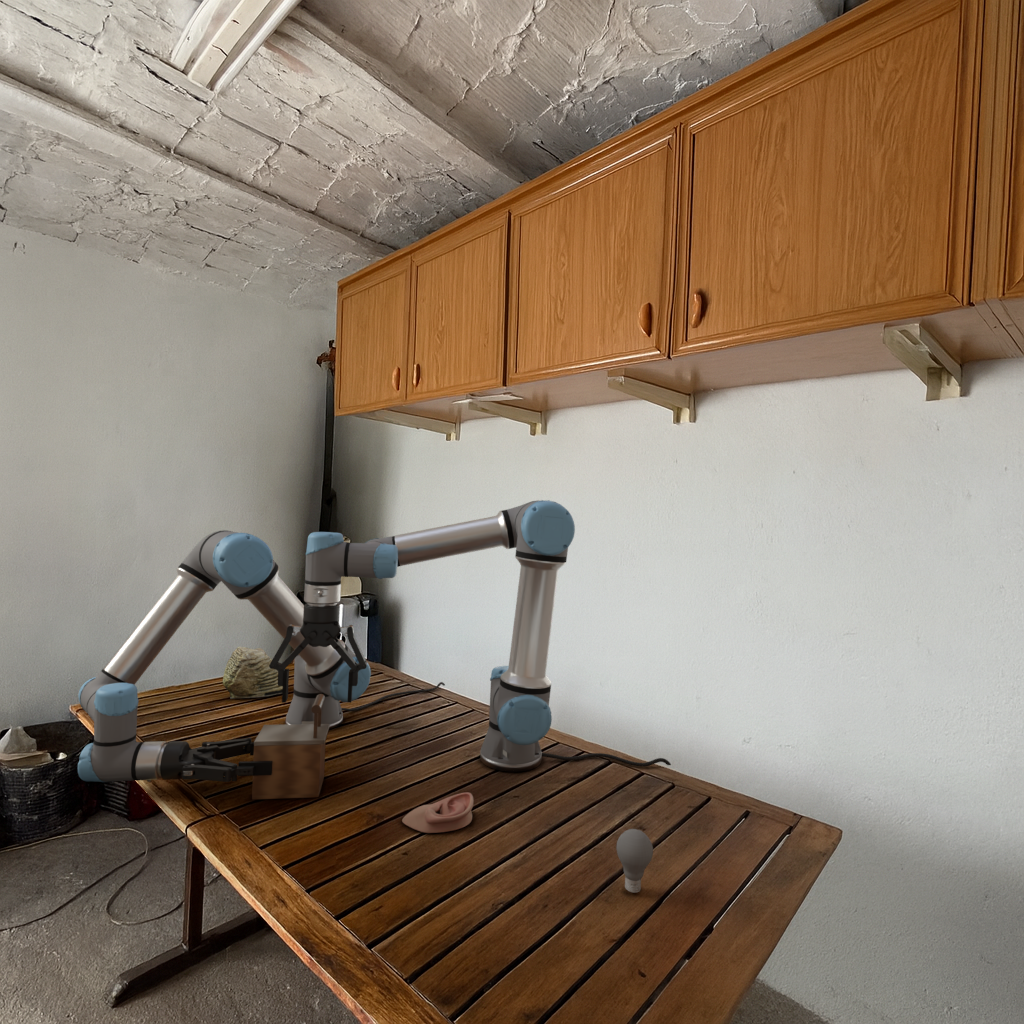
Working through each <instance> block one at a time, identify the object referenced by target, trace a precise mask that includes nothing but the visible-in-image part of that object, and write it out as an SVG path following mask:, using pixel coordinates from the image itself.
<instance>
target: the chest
mask: <svg viewBox="0 0 1024 1024" xmlns="http://www.w3.org/2000/svg"><path fill="white" fill-rule="evenodd" d="M326 740H327V739H326ZM326 740H325V744H307V745H259V746H254V756H253V760H252V761H272V775H260V776H252V786H251V787H252V788H251V800H252V801H253V800H275V799H277V800H278V799H304V798H306V799H307V798H319V797H320V794H321V790H322V787H323V786H322V785H323V782H324V779H325V765H326V764H325V763H326V762H325V761H326V742H327V741H326Z"/></svg>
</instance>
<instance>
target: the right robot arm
mask: <svg viewBox="0 0 1024 1024" xmlns="http://www.w3.org/2000/svg"><path fill="white" fill-rule="evenodd" d="M575 533H576V526H575V520H574V518H573V516H572V514H571V513H570V511H569V510H568V509H567V508H566V507H565V506H563V505H562V504H560V503H558V502H556V501H554V500H550V499H549V500H547V499H546V500H543V499H541V500H532V501H529V502H525V503H523V504H521V505H518V506H514V507H512V508H508V509H502V510H499V511H498V513H497V514H496V515H494V516H489V517H488V516H487V517H483V518H478V519H472V520H467V521H463V522H462V521H461V522H458V523H453V524H452V523H451V524H447V525H441V526H437V527H432V528H426V529H422V530H417V531H411V532H407V533H401V534H396V535H391V536H386V537H381V538H379V537H376V538H375V537H374V538H370V539H369V540H367V541H365V542H348V541H345V539H344V535H343V534H342V533H341V532H333V531H313V532H311V533H309V535H308V537H307V543H306V552H305V571H304V572H305V573H304V577H305V578H304V592H303V594H304V595H303V601H304V602H305V604H303V605H304V613H303V625H302V626H295V625H294V624H290V625H289V626H288V628H287V633H286V637H285V639H284V638H283V641H282V642H281V643H280V646H279V648H278V649H277V651H276V653H275V654H274V656H273V657H272V661H271V663H270V665H269V667H270V668H271V669H276V670H277V671H278V686H283V689H282V693H281V703H282V704H283V703H284V704H285V703H286V702H287V701H288V699H289V680H290V669H289V668H287V667H288V666H290V664H291V663H292V662H293V661H295V658H296V656H297V655H298V654H299V653H300V652H301V651H302V650H303V649H304V648H305V647H306V646H307V645H308V644H309V645H310V646H312V647H318V646H321V647H327V646H330V645H331V646H332V647H333V648H334V649H335V650H336V651H337V652H338V654H339V655H340V656H341V657H342V658H343V660H344V661H345V662H346V663H347V665H348V666H349V667H350V668H351V669H350V670H349V680H348V701H347V702H346V703H352V701H351V700H352V686H357V684H358V672H359V670H361V669H365V668H366V667H367V663H368V661H367V659H366V657H365V655H364V653H363V651H362V649H361V647H360V644H359V642H358V640H357V638H356V636H355V628H354V625H353V624H349V625H348V626H347V625H346V626H341V625H340V612H341V610H340V609H341V606H340V604H339V603H340V602H341V591H342V577H344V578H365V579H366V578H368V579H378V580H382V579H394V578H395V577H396V576H397V574H398V567H403V566H408V565H412V564H413V565H414V564H419V563H424V562H429V561H434V560H439V559H445V558H448V557H454V556H459V555H464V554H470V553H474V552H479V551H484V550H489V549H495V548H499V547H500V548H501V547H503V548H504V549H505V550H510V549H515V555H514V558H515V559H516V560H517V562H518V563H519V564H520V569H519V576H518V578H519V579H518V585H517V586H518V587H517V594H516V601H515V609H514V610H515V611H514V618H513V628H512V635H511V643H510V652H509V658H508V659H509V661H508V665H499V666H495V667H494V668H492V670H491V672H490V673H491V674H490V678H489V681H490V689H489V690H490V693H489V712H488V713H489V714H488V717H489V718H488V728H487V731H486V733H485V736H484V740H483V742H482V745H481V747H480V751H479V752H480V753H479V760H480V761H481V763H482V764H483V765H484V766H486V767H488V768H490V769H493V770H496V771H501V772H510V773H518V772H526V771H531V770H533V769H535V768H537V767H539V766H540V765H541V763H542V759H543V758H542V757H544V758H549V759H554V760H555V759H556V760H560V761H571V762H572V761H578V760H579V761H581V760H584V759H589V758H606V759H610V760H614V761H617V762H620V763H623V764H626V765H629V766H634V767H641V768H643V767H644V768H645V767H650V766H652V765H655V764H657V763H664V764H665V765H667V766H671V765H672V764H671V762H670V761H669V760H668V759H666V758H663V757H658V758H654V759H652V760H649V761H646V762H636V761H633V760H628V759H625V758H623V757H620V756H616V755H613V754H609V753H601V752H591V753H586V754H582V755H576V756H563V755H557V754H552V753H547V752H542V748H541V745H540V741H541V740H543V738H545V736H547V734H548V732H549V731H550V728H551V726H552V719H553V718H552V710H551V707H550V698H551V690H552V681H551V679H550V677H548V676H547V667H548V658H549V651H550V644H551V643H550V642H551V634H552V625H553V617H554V610H555V602H556V593H557V586H558V578H559V577H558V576H559V571H560V569H561V568H563V567H564V566H565V565H566V564H567V559H568V553H569V552H568V551H569V547H570V546H571V545H572V542H573V540H574V538H575ZM298 632H301V634H302V635H303V637H304V638H305V639H304V640H303V641H302V642H301V643H300V644H299V645H298V646H297V648H296V649H295V650H294V649H293V651H291V653H290V654H289V655H288V656H287V657H286V658H285V659H284V660H283V661H282V662H280V660H281V659H282V656H283V655H284V653H285V651H286V649H287V648H288V646H289V642H290V641H291V639H292V637H293V636H295V635H296V634H297V633H298ZM341 633H342V635H344V637H347V640H348V642H349V645H350V647H351V649H352V652H353V653H354V654H355V655H356V658H357V660H358V662H359V663H358V664H357V663H356V661H355V660H354V659H353V658H352V657H351V655H350V654H349V653H348V652H347V651H346V649H345V648H344V647H343V646H342V644H341V643H340V641H339V640H338V639H339V638H338V637H339V635H340V634H341Z"/></svg>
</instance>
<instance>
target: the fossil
mask: <svg viewBox="0 0 1024 1024" xmlns="http://www.w3.org/2000/svg"><path fill="white" fill-rule="evenodd" d="M272 660H273V658H271V657H270V656H269V655H268V654H267V653H266V652H265V650H264V649H263V648H260V647H258V648H251V647H247V646H246V647H245V646H238V647H237V648H236V649H235V650H233V651H232V653H231V656H230V657H229V659H228V660H227V663H226V666H225V668H224V671H223V675H222V676H223V677H222V685H223V687H224V688H225V690H226V691H228V693H229V698H230V699H250V698H264V697H271V696H275V695H281V694H282V689H283V686H278V671H277V670H276V669H271V668H270V667H269V665H270V663H271V661H272Z"/></svg>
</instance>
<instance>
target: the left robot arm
mask: <svg viewBox="0 0 1024 1024" xmlns="http://www.w3.org/2000/svg"><path fill="white" fill-rule="evenodd" d="M176 571H177V572H176V573H177V574H176V577H175V578H174V579H173V580H172V582H171V583H170V584H169V586H168V587H167V588H165V590H164V591H163V593H162V594H161V595H160V596H159V598H158V599H157V601H155V603H154V604H153V605H152V607H151V608H150V609H149V610H148V612H147V613H146V615H144V616H143V618H142V619H141V621H140V622H139V623H138V624H137V625H136V627H134V629H133V630H132V632H131V633H130V634H129V636H128V637H127V638H126V639H125V641H124V642H123V643H122V644H121V645H120V647H119V648H118V649H117V651H116V652H115V653H114V655H113V656H111V658H110V660H109V661H107V663H106V664H105V666H104V667H103V668H102V669H101V670H100V671H99V672H98V674H97V675H96V676H93V677H91V678H89V679H88V680H86V681H85V682H84V683H83V684H82V685H81V686H80V688H79V691H78V695H77V697H78V702H79V704H80V705H79V706H80V707H81V708H82V710H83V711H84V712H85V713H86V714H88V717H89V718H90V719H91V720H92V721H93V742H91V743H88V744H86V745H85V746H84V748H83V749H81V752H80V755H79V757H78V759H79V761H78V763H77V773H78V777H79V778H80V780H81V781H84V782H92V783H93V782H97V783H111V782H129V781H130V782H132V781H146V782H147V783H151V782H152V781H158V780H159V781H160V780H161V779H163V780H164V781H171V780H172V781H173V780H176V781H177V780H202V781H211V782H223V783H230V782H233V783H234V782H237V781H238V777H253V776H260V775H272V761H253V760H251V761H250V760H249V761H247V760H246V761H244V760H243V761H239V762H238V764H237V763H234V762H230V761H225V759H231V758H234V757H239V756H244V755H248V754H249V757H250V756H251V757H254V741H253V740H252V737H245V738H237V739H227V740H219V741H203V742H201V746H199V747H196V748H191V747H190V743H189V742H188V741H186V740H183V741H182V740H175V741H174V740H172V741H169V742H167V741H166V740H164V741H163V740H162V741H161V740H159V741H137V727H138V707H139V696H138V687H137V685H136V684H137V682H138V681H139V680H140V678H141V677H142V676H143V675H144V673H145V672H146V671H147V669H148V668H149V667H150V665H151V664H152V663H153V662H154V660H155V659H156V658H157V657H158V655H159V654H160V653H161V652H162V650H163V649H164V647H165V646H166V645H167V644H168V642H169V641H170V640H171V639H172V637H173V636H174V634H175V633H176V632H177V631H178V629H180V627H181V625H182V624H183V623H184V622H185V620H186V619H187V618H188V617H189V615H190V614H191V613H192V611H194V609H195V608H196V606H197V605H198V604H199V603H200V601H201V600H202V598H203V597H204V596H205V595H206V593H209V592H213V591H214V590H215V589H216V588H217V586H218V585H219V584H220V583H222V584H223V585H224V586H225V587H226V588H227V589H228V590H229V591H230V592H231V594H233V595H234V596H235V598H237V600H248V601H249V602H250V604H252V606H253V607H254V608H255V609H256V610H257V611H258V612H259V613H260V614H261V615H262V616H263V618H265V620H266V621H267V622H268V623H269V624H270V625H271V627H273V628H274V629H275V631H276V632H277V633H278V634H279V635H280V636H281V637H282V638H283V640H284V639H285V637H286V633H287V628H288V626H289V625H290V624H294V625H295V626H302V625H303V613H304V605H305V604H304V603H302V602H301V600H300V599H299V598H298V597H297V596H296V594H295V593H294V592H293V591H292V590H291V589H290V587H289V586H288V585H287V584H286V583H285V582H284V580H283V579H282V578H281V577H280V576H279V573H280V565H278V564H277V562H276V561H275V559H274V556H273V552H272V550H271V548H270V547H269V545H268V544H267V543H266V542H265V541H264V540H263V539H261V538H260V537H258V536H256V535H254V534H251V533H249V532H237V531H232V530H227V529H226V530H225V529H224V530H217V531H213V532H211V533H208V534H207V535H205V536H204V537H203V538H201V540H200V541H198V542H197V544H196V545H195V546H194V547H193V548H192V549H191V550H190V552H189V553H188V554H187V556H186V557H185V558H184V560H182V561H181V563H180V564H179V565H178V567H177V568H176ZM304 639H305V638H304V637H303V635H302V634H301V632H298V633H297V634H296V635H295V636H293V637H292V639H291V641H290V642H289V644H288V646H290V647H291V648H292V649H293V651H294V650H295V649H296V648H297V646H298V645H299V644H300V643H301V642H302V641H303V640H304ZM337 639H338V640H339V641H340V643H341V644H342V646H343V647H344V648H345V649H346V651H347V652H348V653H349V654H350V655H351V657H352V658H353V659H354V660H355V661H356V663H357V664H358V663H359V662H358V660H357V658H356V655H355V653H354V651H353V650H351V648H350V647H349V646H348V645H347V644H346V643H345V642H344V641H343V640H342V639H339V638H337ZM350 669H351V668H350V667H349V666H348V665H347V663H346V662H345V661H344V660H343V658H342V657H341V656H340V655H339V654H338V652H337V651H336V650H335V649H334V648H333V647H332V646H331V645H330V646H327V647H321V646H318V647H312V646H310V645H309V644H308V645H307V646H306V647H305V648H304V649H303V650H302V651H301V652H300V653H299V654H298V655H297V656H296V658H295V659H294V672H293V695H292V696H293V697H292V699H291V702H290V704H289V708H288V711H287V713H286V715H285V725H289V724H314V713H313V712H312V710H311V709H312V706H313V704H314V701H315V699H316V697H317V695H319V694H323V695H324V696H325V700H324V703H323V705H322V713H321V724H330V726H329V730H332V729H335V728H337V727H339V726H340V725H342V723H343V722H344V714H343V712H356V711H360V710H362V709H366V708H367V707H370V706H372V705H375V704H378V702H381V701H383V700H385V699H387V698H391V697H395V696H400V695H408V694H409V695H410V694H415V693H416V694H417V693H426V692H432V691H435V690H437V689H439V687H440V686H441V685H442V686H446V684H445V682H443V681H440V682H439V683H438V684H437V685H436V686H435V687H432V688H427V689H426V688H424V689H414V690H406V691H400V692H395V693H390V694H386V695H383V696H382V697H379V698H378V699H376V700H374V701H371V702H368V703H366V704H364V705H361V706H358V707H353V708H347V707H342V706H341V702H343V703H348V702H347V701H348V680H349V670H350ZM371 676H372V670H371V666H370V664H369V662H367V667H366V668H365V669H361V670H359V672H358V684H357V686H352V700H351V702H353V701H355V700H357V699H359V698H360V697H361V696H362V695H363V694H364V693H365V692H366V690H367V689H368V687H369V685H370V682H371Z"/></svg>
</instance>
